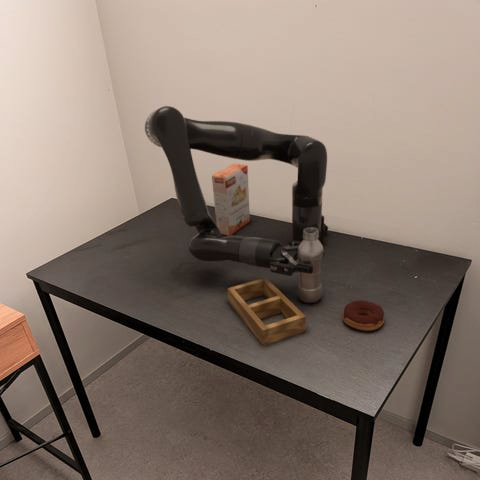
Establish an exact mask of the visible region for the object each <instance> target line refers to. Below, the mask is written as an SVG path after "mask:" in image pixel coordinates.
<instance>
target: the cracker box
mask: <svg viewBox="0 0 480 480" xmlns="http://www.w3.org/2000/svg"><path fill="white" fill-rule="evenodd" d="M211 181H212V191H213V203H214V213H215V214H214V215H215V223H216V225H217V227H218V228H219V230H220V232H221V235H222V236H229V235H234V234H236V233H237V232H238V231H239V230H240V229H242V228H243V227H245V226H246V225H248V224H249V223H250V222H251V215H250V214H251V211H250V190H249V188H250V187H249V168H248V164H243V163H242V164H241V163H233V164H230V165H229V166H227V167H225V168H223V169H221V170H219V171H217V172H215V173H214V174H212V175H211Z"/></svg>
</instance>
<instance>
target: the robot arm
mask: <svg viewBox="0 0 480 480" xmlns="http://www.w3.org/2000/svg"><path fill="white" fill-rule="evenodd" d="M144 133H145V136H146V137H147V139H148V140H149V141H150V142H151V143H152V144H153V145H155V146H157V147H159V148H162V151H163V153H164V155H165V157H166V159H167V162H168V164H169V167H170V171H171V174H172V180H173V187H174V192H175V196H176V200H177V203H178V206H179V209H180V211H181V214H182V217H183V221H184V222H185V223H186V225H187V226H188V227H195V228H196V230H197V232H198V234H196V235H195V236H193V237H192V238H191V239H190V241H189V243H188V251H189V253H190V254H191V255H192V256H193V258H195V259H196V260H199V261H203V262H223V261H230V262H235V263H240V264H245V265H249V266H253V267H258V268H265V269H269V271H270V273H274V274H278V275H284V276H289V277H292V276H293V274H298V273H300V272H303V273H309V274H311V273H312V272H313V265H311V264H305V263H299V262H297V260H299V258H298V247H299V245H300V244H301V242H302V241H303V240H304V239H303V231H304V229H305V228H309V227H314V228H317V229H318V235H319V238H318V240H319V241H320V243H321V244H322V245H324V237H325V236H324V235H325V234H327V233H328V230H329V226H328V225H327V224H326V223H325V216H324V215H323V191H324V190H323V188H324V187H325V184H326V179H327V167H328V151H327V148H326V145H325V143H323V142H322V141H321V140H318V139H316V138H314V137H312V136H309V135H304V134H287V133H278V132H274V131H271V130H269V129H266V128H262V127H258V126H254V125H251V124H246V123H242V122H237V121H227V120H225V121H224V120H197V119H192V118H189V117H184V115H183V114H182V113H181V111H180V110H178V109H177V108H175V107H174V106H170V105H165V106H161V107H159V108H157V109H155V110H153V111H152V112H151V113H150V114H149V115H148V116H147V118H146V120H145V122H144ZM191 150H197V151H201V152H204V153H208V154H212V155H214V156H215V155H216V156H219V157H222V158H223V157H224V158H228V159H234V160H240V161H245V162H247V161H248V162H256V161H257V162H258V161H264V160H271V161H272V160H273V161H278V162H281V163H285V164H289V165H291V166H293V167H295V168H297V180H296V181H295V182H293V183H292V186H291V230H292V231H291V237H292V238H291V240H288V243H287V244H288V245H281V244H280V241H279V240H276V239H270V238H264V237H257V236H241V235H234V234H232V235H229V236H227V235H225V236H224V237H223V235H222V234H221V232H220V230H219V228H218V227H217V225H216V221H215V220H214V218H213V217H212V215H211V214H210V212H209V208H208V206H207V202H206V199H205V197H204V193H203V191H202V188H201V184H200V182H199V178H198V175H197V172H196V167H195V163H194V160H193V156H192V151H191ZM324 256H325V250H324V249H323V257H322V259H323V258H324ZM285 269H286V270H285Z"/></svg>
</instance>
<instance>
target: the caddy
mask: <svg viewBox="0 0 480 480" xmlns="http://www.w3.org/2000/svg"><path fill="white" fill-rule="evenodd" d="M262 296H264V297H266V299H263V300H260V301H257V302H254V303H249V304H248V303H247V302H246V301H249V300H252V299H255V298H258V297H262ZM227 297H228V303H229V305H230V306H231V308H232V309H233V310H234V311H235V312H236V313H237V315H238V316H239V317H240V318H241V320H242V321H243V322H244V323H245V324H246V326H247V327H248V328H249V330H250V331H251V332H252V333H253V335H254V336H255V337H256V338H257V339H258V341H259V342H260V343H261V344H262V346H266V345H267V346H268V345H269V344H272V343H276V342H279V341H282V340H284V339H287V338H290V337H291V338H292V336H293V337H294V336H297V335H299V334H302V333H305V332H306V329H307V328H306V323H307V321H306V320H307V319H306V318H307V317H306V315H305V314H304V313H303V312H302V311H301V310H300V309H299V308H298V307H297V306H295V304H294V303H292V301H291V300H289V299H288V297H287V296H285V294H284V293H282V292H281V291H280V290H279V289H278V287H276V286H275V285H274V284H273V283H272V282H271V281H270V280H269V279H268V278H267V277H262V278H259V279H255V280H251V281H249V282H244V283H241V284H238V285H235V286H231V287H228V288H227ZM278 314H282V315H283V316H284V317H285V319H281V320H279V321H275V322H272V323H269V324H266V325H265V323H264V322H263V321H262V319H266V318H269V317H272V316H275V315H278Z"/></svg>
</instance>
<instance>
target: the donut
mask: <svg viewBox="0 0 480 480" xmlns="http://www.w3.org/2000/svg"><path fill="white" fill-rule="evenodd" d="M342 320H343V322H344V323H345V324H346V325H348V326H349V327H351V328H352V329H356V330H358V331H359V330H360V331H364V332H365V331H366V332H372V331H376V330H377V329H379V328H381V327H382V326H383V325H384V323H385V312H384V310H383V307H381V306H380V305H379V304H377V303H374V302H372V301H367V300H352V301H351V302H348V303H347V304H346V305H345V306H344V308H343V312H342Z"/></svg>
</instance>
